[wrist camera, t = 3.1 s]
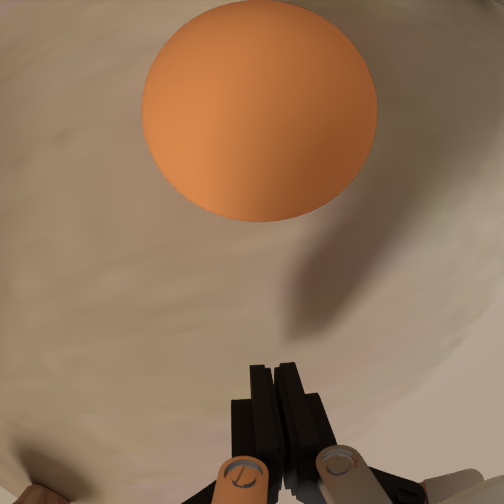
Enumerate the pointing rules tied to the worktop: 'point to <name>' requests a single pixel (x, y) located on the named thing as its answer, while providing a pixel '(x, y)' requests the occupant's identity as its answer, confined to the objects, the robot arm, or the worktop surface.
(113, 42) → the worktop surface
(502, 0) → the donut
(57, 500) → the cupcake
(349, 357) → the worktop surface
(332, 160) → the ball
